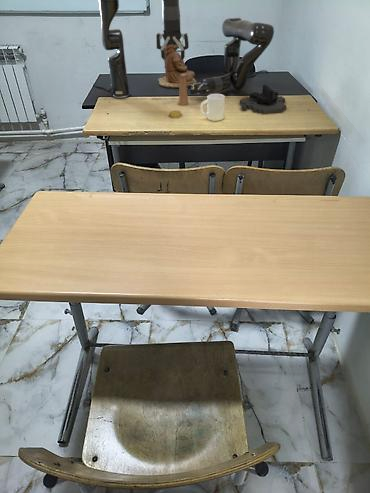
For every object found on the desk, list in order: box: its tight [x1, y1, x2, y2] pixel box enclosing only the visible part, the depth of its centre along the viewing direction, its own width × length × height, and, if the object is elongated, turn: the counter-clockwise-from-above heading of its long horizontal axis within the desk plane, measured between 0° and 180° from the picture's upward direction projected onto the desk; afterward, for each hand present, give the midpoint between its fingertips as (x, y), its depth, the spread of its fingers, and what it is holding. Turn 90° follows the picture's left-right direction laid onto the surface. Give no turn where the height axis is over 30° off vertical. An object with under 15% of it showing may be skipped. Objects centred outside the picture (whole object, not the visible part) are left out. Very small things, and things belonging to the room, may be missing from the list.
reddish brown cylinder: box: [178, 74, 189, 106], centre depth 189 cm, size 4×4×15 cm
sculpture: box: [157, 39, 198, 89], centre depth 214 cm, size 27×24×30 cm
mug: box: [199, 93, 226, 122], centre depth 172 cm, size 12×8×10 cm
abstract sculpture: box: [239, 84, 287, 115], centre depth 184 cm, size 25×9×20 cm
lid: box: [169, 109, 182, 118], centre depth 180 cm, size 6×5×2 cm
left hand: (173, 59), depth 164 cm, fingers open, 8 cm apart
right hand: (186, 90), depth 190 cm, fingers open, 8 cm apart
